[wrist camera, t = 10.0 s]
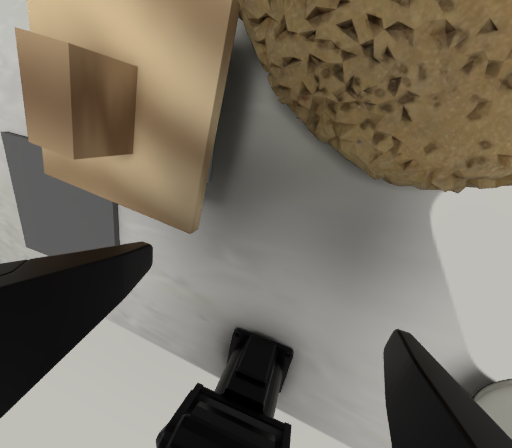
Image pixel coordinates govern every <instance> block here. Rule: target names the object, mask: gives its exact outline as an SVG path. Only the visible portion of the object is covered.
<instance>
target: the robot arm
mask: <svg viewBox="0 0 512 448" xmlns="http://www.w3.org/2000/svg"><path fill="white" fill-rule="evenodd" d="M152 261H153V247H152V245H150V244H148V243H145V242H136V243H130V244H124V245H117V246H111V247H104V248H98V249H92V250H85V251H79V252H73V253H66V254H60V255H54V256H47V257H41V258H35V259H30V260H22V261H15V262H9V263H2V264H0V418H1V417H2V416H3V415H4V414H5V413H6V412H8V410H10V408H12V407H13V406H14V405H15V404H16V403H17V402H18V401H19V400H20V399H21V398H22V397H23V396H24V395H25V394H26V393H27V392H28V391H29V390H30V389H31V388H32V387H33V386H34V385H35V384H36V383H38V382H39V381H40V379H42V378H43V376H45V374H47V373H48V372H49V371H50V370H51V369H52V368H53V367H54V366H55V365H56V364H57V363H58V362H59V361H60V360H61V359H62V358H63V357H64V356H65V355H66V354H68V353H69V352H70V351H71V350H72V349H73V348H74V347H75V346H76V345H77V344H78V343H79V342H80V341H81V340H82V339H83V338H84V337H85V336H86V335H87V334H88V333H89V332H90V331H91V330H92V329H93V328H94V327H95V326H96V325H98V323H100V322H101V321H102V320H103V319H104V318H105V317H106V316H107V315H108V314H109V313H110V312H111V311H112V310H113V309H114V308H115V307H116V306H117V305H118V304H119V303H120V302H121V301H122V300H123V299H124V298H125V297H126V296H127V295H128V294H129V293H130V292H131V290H132V289H133V288H134V287H135V286H136V285H137V283H138V282H139V281H140V280H141V279H142V277H143V276H144V275H145V274H146V273H147V272H148V270H149V269H150V268H151V266H152ZM288 353H289V354H288ZM292 358H293V350H292V349H290V348H287V347H285V346H282V345H280V344H277V343H275V342H272V341H269V340H267V339H264V338H262V337H259V336H257V335H254V334H252V333H249V332H246V331H244V330H241V329H238V328H237V329H235V330H234V332H233V335H232V340H231V345H230V350H229V355H228V361H227V365H226V368H225V370H224V372H223V374H222V376H221V378H220V381H219V383H218V385H217V387H216V389H215V391H212V390H210V389H208V388H206V387H203V385H202V384H199V383H197V385H196V386H195V388H194V389H193V390H191V391H190V393H189V394H188V395H187V397H186V398H185V400H184V401H183V403H182V404H181V406H180V407H179V408H178V410H177V411H176V413H175V414H174V416H173V417H172V419H171V420H170V422H169V423H168V424H167V425H166V426H165V427H164V428H163V429H162V430H161V432H160V433H159V434H158V436H157V439H156V446H157V448H290V436H291V425H290V424H288V423H286V422H285V423H283V422H280V421H278V420H276V419H274V418H273V417H274V413H275V408H276V403H277V398H278V394H279V393H280V392H281V389H282V386H283V383H284V380H285V378H286V375H287V372H288V369H289V366H290V363H291V361H292ZM384 378H385V399H386V409H387V416H388V422H389V429H390V436H391V442H392V448H512V439H511V438H510V437H509V436H508V435H507V434H506V433H505V432H504V431H503V430H502V429H501V428H500V427H499V425H498V424H497V423H496V422H495V421H494V420H493V419H492V418H491V417H490V416H489V415H488V414H487V413H486V412H485V411H484V410H483V409H482V408H481V407H480V406H479V405H478V404H477V402H476V401H475V400H474V399H473V398H472V397H471V396H470V395H469V394H468V393H467V392H466V391H465V390H464V389H463V388H462V387H461V386H460V385H459V384H458V383H457V382H456V381H455V379H454V378H453V377H452V376H451V375H450V374H449V373H448V372H447V371H446V370H445V369H444V368H443V367H442V366H441V365H440V364H439V363H438V362H437V361H436V360H435V359H434V358H433V357H432V355H431V354H430V353H429V352H428V351H427V350H426V349H425V348H424V347H423V346H422V345H421V344H420V343H419V342H418V341H417V340H416V339H415V338H414V337H413V336H412V335H411V334H410V333H408V332H405V331H402V330H399V329H396V330H394V331H393V333H392V335H391V337H390V338H389V340H388V342H387V344H386V345H385V348H384Z"/></svg>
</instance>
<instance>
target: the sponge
mask: <svg viewBox="0 0 512 448" xmlns="http://www.w3.org/2000/svg"><path fill="white" fill-rule="evenodd" d="M237 1H238V3H239V4H240V11H239V18H240V19H241V20H242V21H243V22H244V25H245V28H246V30H247V33H248V35H249V37H250V39H251V42H252V44H253V47H254V49H255V52H256V54H257V57H258V58H259V60H260V62H261V64H262V66H263V68H264V69H265V70H266V71H267V72H270V75H269V76H268V80H269V82H270V85H271V87H272V89H273V91H274V92H275V94H276V95H277V96H279V99H278V100H279V101H280V102H281V103H282V104H287V105H288V106H289V107H290V108H291V109H292V110H293V111H294V112H295V113H296V116H297V118H300V119H301V120H302V121H303V122H304V123H305V124H306V126H307V127H308V129H309V130H310V131H311V132H312V133H313V134H314V136H315V137H316V138H317V139H318V140H321V141H322V142H323V143H326V142H330V144H331V145H332V146H333V147H334V148H335V149H336V150H337V151H338V152H340V153H341V154H342V155H343V156H344V157H345V158H346V159H348V160H349V161H351V162H352V163H354V164H355V165H357V166H358V167H359V168H361V169H362V170H363V171H365V172H366V173H367V174H369V175H370V176H371V177H372V178H374V179H379V178H382V179H383V180H385V181H386V182H388V183H391V184H394V185H398V186H412V185H413V186H415V187H417V188H419V189H421V190H443V191H444V192H446V191H453V192H456V193H459V192H460V191H462V190H463V189H464V188H465V187H477V188H479V189H483V188H497V187H499V186H509V185H512V0H237Z"/></svg>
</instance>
